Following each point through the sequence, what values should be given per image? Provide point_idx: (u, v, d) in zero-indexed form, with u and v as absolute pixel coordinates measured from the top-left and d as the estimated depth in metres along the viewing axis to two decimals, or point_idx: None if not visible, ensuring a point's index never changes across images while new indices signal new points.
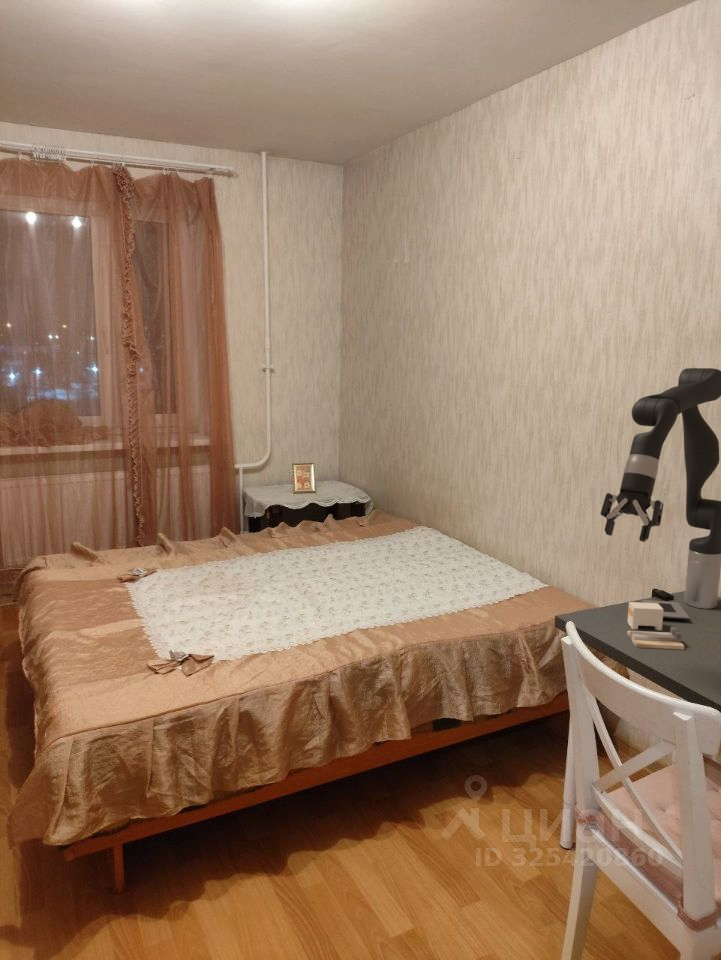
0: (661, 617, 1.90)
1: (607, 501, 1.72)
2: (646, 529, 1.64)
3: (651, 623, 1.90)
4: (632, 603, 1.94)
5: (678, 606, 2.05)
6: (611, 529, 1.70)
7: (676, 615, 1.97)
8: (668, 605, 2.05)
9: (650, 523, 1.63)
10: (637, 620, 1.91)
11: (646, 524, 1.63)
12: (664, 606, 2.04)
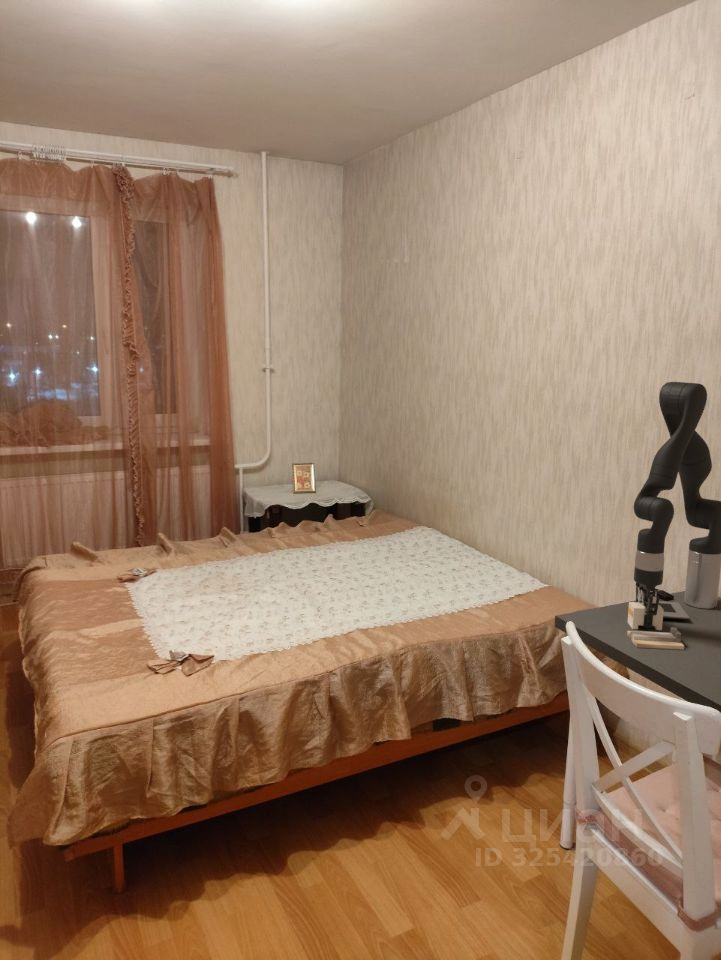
0: (661, 617, 1.90)
1: (636, 589, 1.97)
2: (646, 618, 1.89)
3: None
4: (632, 603, 1.94)
5: (678, 606, 2.05)
6: None
7: (676, 615, 1.97)
8: (668, 605, 2.05)
9: None
10: (637, 620, 1.91)
11: (644, 613, 1.89)
12: (664, 606, 2.04)
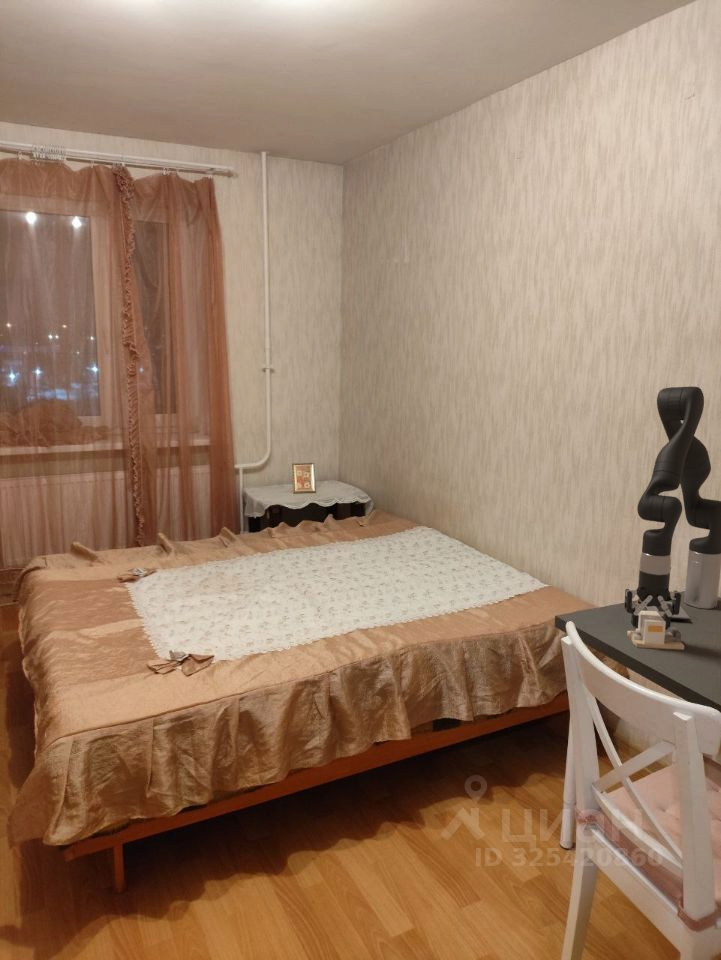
0: None
1: (630, 599, 1.80)
2: (669, 619, 1.80)
3: None
4: (649, 620, 1.78)
5: None
6: None
7: (676, 615, 1.97)
8: (668, 605, 2.05)
9: (672, 613, 1.80)
10: None
11: (670, 615, 1.80)
12: None
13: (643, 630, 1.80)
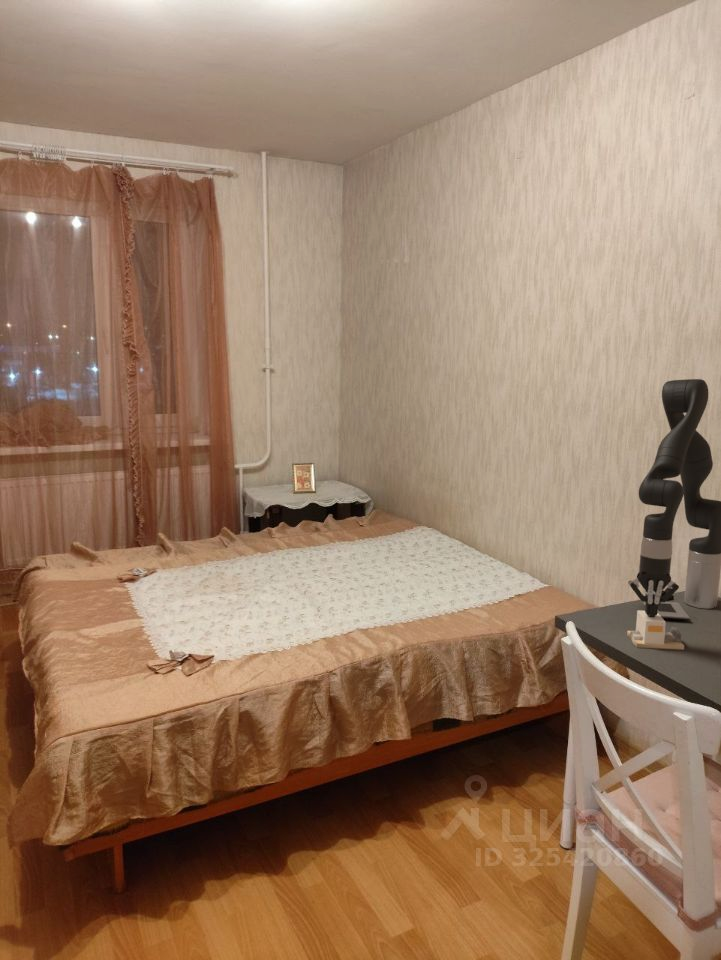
0: None
1: (637, 589, 1.79)
2: (656, 606, 1.80)
3: None
4: (649, 620, 1.78)
5: (678, 606, 2.05)
6: None
7: (676, 615, 1.97)
8: (668, 605, 2.05)
9: (659, 601, 1.80)
10: None
11: (657, 603, 1.80)
12: (664, 606, 2.04)
13: (643, 630, 1.80)
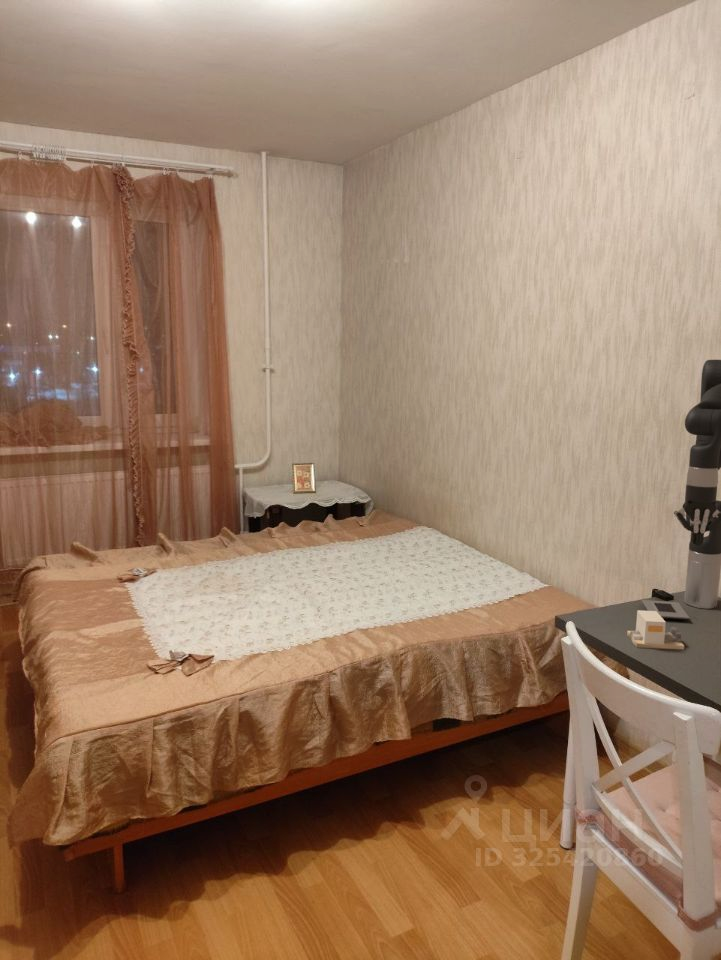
0: None
1: (683, 518, 1.83)
2: (702, 536, 1.84)
3: None
4: (649, 620, 1.78)
5: (678, 606, 2.04)
6: None
7: (676, 615, 1.97)
8: (668, 605, 2.05)
9: (705, 530, 1.83)
10: None
11: (703, 532, 1.83)
12: (664, 606, 2.04)
13: (643, 630, 1.80)
